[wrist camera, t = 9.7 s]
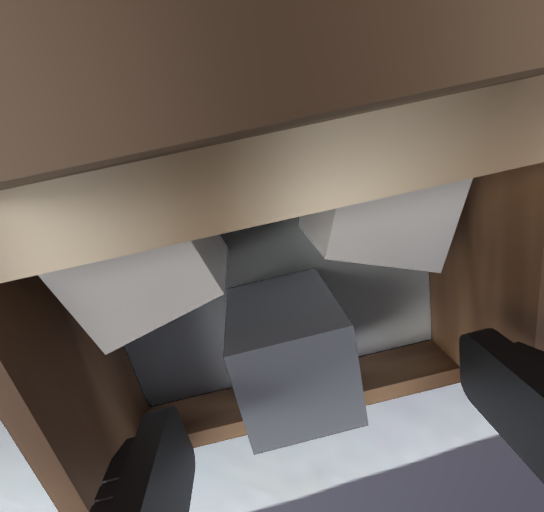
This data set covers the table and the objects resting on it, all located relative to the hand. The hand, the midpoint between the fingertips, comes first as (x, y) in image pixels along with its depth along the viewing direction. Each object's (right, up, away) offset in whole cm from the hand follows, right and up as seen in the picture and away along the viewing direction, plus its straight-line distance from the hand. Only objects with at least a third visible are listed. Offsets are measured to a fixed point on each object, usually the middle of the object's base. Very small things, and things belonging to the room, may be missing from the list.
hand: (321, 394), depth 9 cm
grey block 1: (-6, +5, +4) cm, 9 cm away
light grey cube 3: (+2, +7, +4) cm, 8 cm away
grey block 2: (-1, +1, +6) cm, 6 cm away
